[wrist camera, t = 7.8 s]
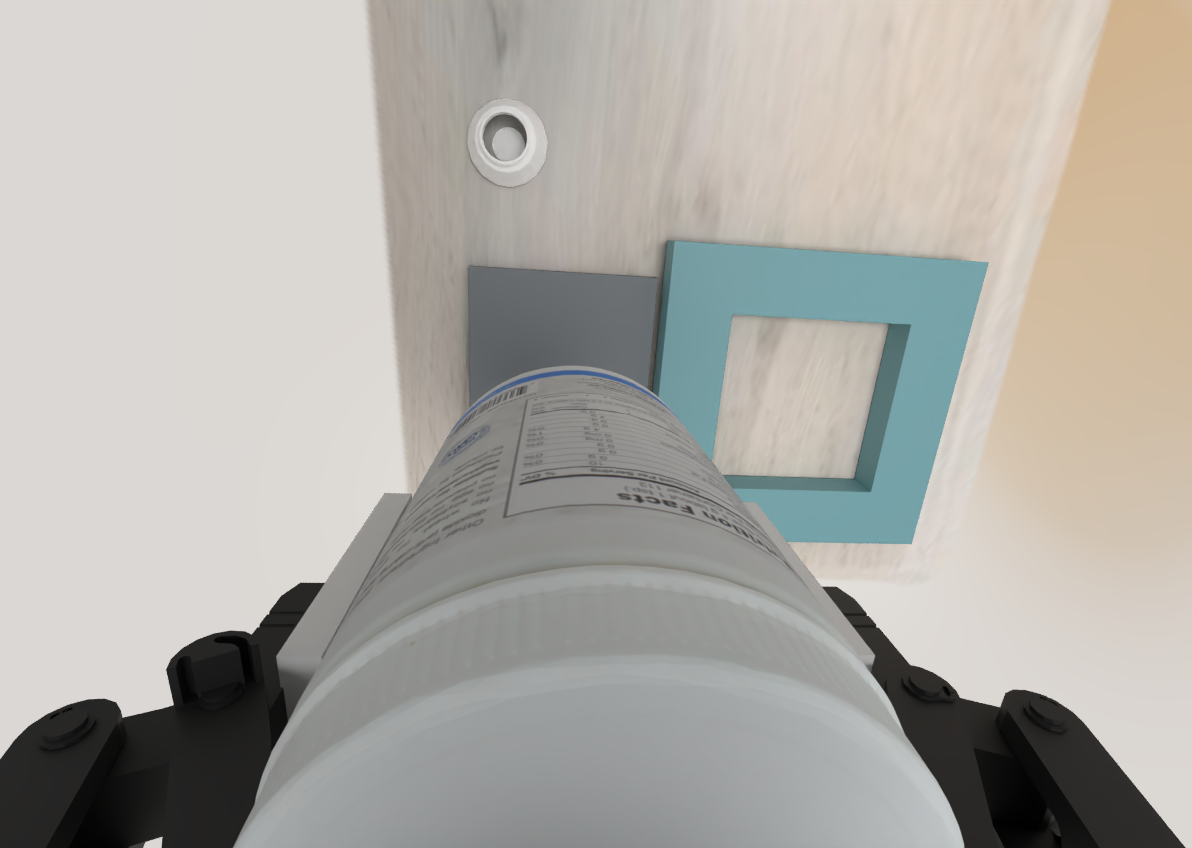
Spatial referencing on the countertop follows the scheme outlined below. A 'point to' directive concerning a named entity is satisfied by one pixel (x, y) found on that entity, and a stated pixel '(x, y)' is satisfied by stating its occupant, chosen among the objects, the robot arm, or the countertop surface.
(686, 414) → the holder frame
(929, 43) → the countertop surface
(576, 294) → the slate mat
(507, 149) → the white jar
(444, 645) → the supplement tub
